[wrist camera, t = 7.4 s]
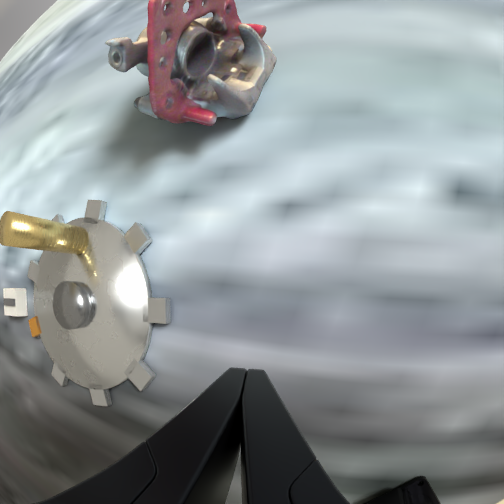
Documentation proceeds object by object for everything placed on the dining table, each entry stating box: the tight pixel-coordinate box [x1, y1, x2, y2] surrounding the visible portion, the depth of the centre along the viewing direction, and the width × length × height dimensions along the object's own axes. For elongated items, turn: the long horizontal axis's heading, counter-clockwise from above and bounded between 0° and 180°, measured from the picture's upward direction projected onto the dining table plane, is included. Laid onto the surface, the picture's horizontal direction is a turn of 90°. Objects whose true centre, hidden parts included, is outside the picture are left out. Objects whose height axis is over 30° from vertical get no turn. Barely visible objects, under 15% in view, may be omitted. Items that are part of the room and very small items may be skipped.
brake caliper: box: [106, 0, 276, 126], centre depth 20 cm, size 11×11×12 cm
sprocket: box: [0, 200, 171, 406], centre depth 21 cm, size 18×18×9 cm
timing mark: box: [3, 288, 28, 316], centre depth 27 cm, size 3×3×2 cm
